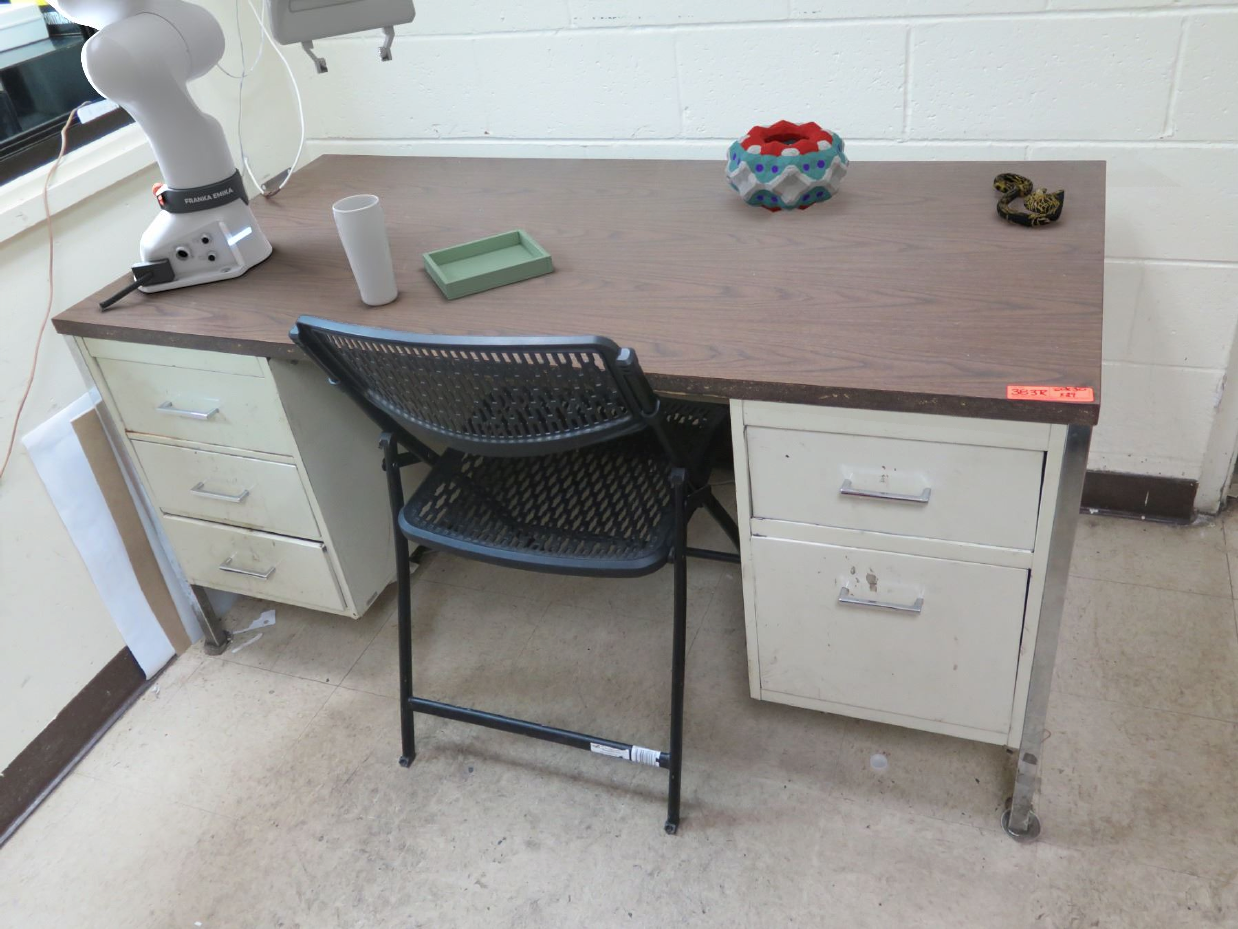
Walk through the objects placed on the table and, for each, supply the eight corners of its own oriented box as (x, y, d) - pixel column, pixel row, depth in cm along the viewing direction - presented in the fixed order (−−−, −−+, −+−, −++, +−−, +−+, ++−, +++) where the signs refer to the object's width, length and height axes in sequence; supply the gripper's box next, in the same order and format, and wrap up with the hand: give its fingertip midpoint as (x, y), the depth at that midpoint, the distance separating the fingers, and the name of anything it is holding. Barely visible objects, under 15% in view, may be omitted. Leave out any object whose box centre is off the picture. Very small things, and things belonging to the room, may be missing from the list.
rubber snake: (999, 153, 156) (1066, 159, 154) (993, 181, 159) (1059, 187, 156) (991, 198, 143) (1065, 205, 140) (985, 228, 146) (1057, 235, 143)
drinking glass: (373, 288, 151) (348, 193, 142) (411, 290, 149) (388, 194, 140) (349, 308, 146) (321, 210, 137) (388, 310, 144) (363, 211, 135)
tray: (448, 300, 145) (445, 283, 143) (425, 269, 155) (421, 253, 154) (553, 271, 149) (551, 255, 148) (524, 243, 160) (521, 228, 158)
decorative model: (810, 80, 163) (845, 109, 146) (839, 157, 170) (876, 194, 154) (705, 136, 166) (728, 171, 149) (738, 210, 174) (763, 251, 157)
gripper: (398, -53, 141) (419, 49, 148) (253, -31, 135) (282, 75, 143) (408, -49, 136) (429, 56, 144) (258, -25, 130) (288, 83, 138)
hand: (354, 66), depth 143 cm, fingers open, 8 cm apart
